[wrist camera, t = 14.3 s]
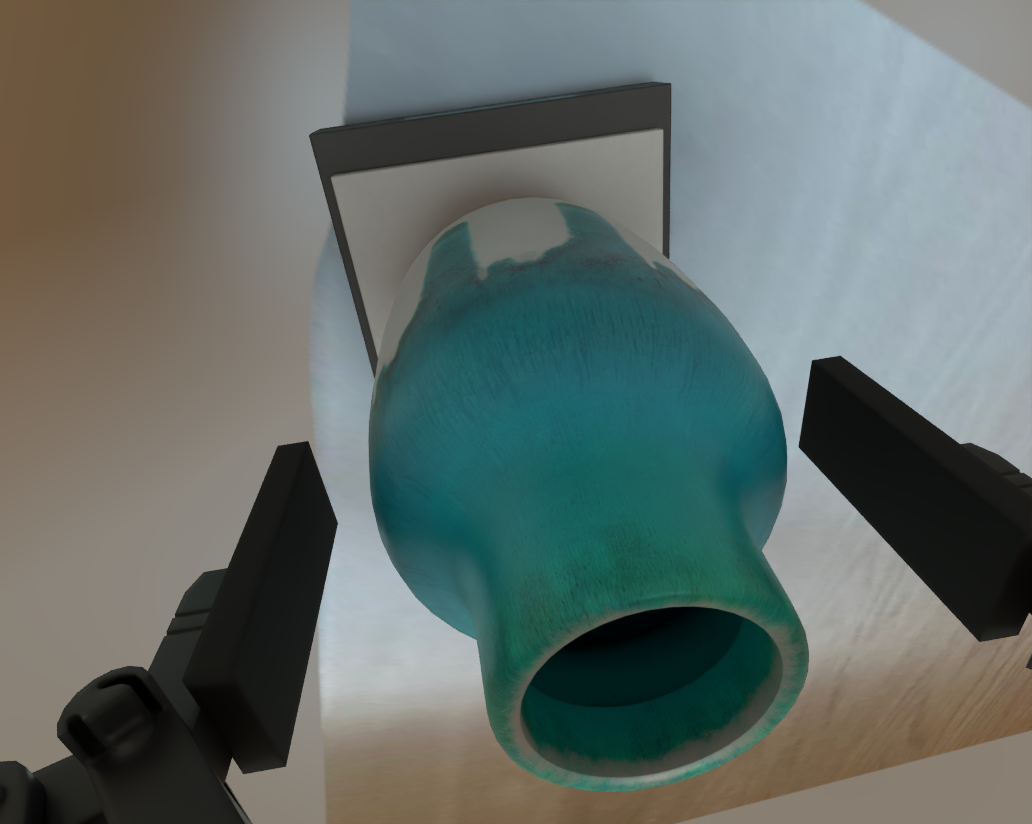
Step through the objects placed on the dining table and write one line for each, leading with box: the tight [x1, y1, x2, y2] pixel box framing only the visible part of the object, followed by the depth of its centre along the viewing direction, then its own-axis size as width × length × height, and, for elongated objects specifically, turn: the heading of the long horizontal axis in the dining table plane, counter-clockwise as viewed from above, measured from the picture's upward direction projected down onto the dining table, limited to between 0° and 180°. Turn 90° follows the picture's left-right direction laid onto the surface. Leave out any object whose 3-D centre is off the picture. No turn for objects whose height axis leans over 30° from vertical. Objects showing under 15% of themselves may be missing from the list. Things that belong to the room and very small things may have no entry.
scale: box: [309, 82, 671, 378], centre depth 27 cm, size 15×14×3 cm
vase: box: [369, 196, 809, 792], centre depth 18 cm, size 11×11×19 cm
